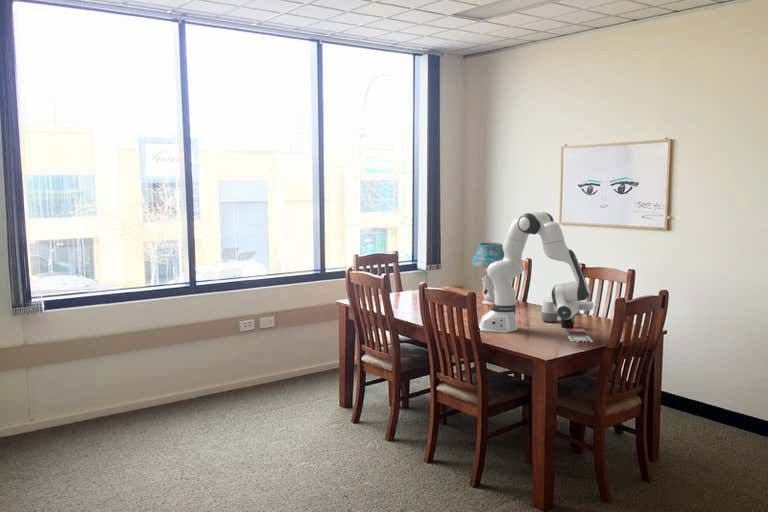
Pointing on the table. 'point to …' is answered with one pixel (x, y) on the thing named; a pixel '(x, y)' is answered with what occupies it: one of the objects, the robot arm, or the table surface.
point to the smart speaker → (548, 310)
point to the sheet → (579, 338)
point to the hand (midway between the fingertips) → (576, 301)
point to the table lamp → (484, 258)
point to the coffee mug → (568, 323)
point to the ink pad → (576, 331)
